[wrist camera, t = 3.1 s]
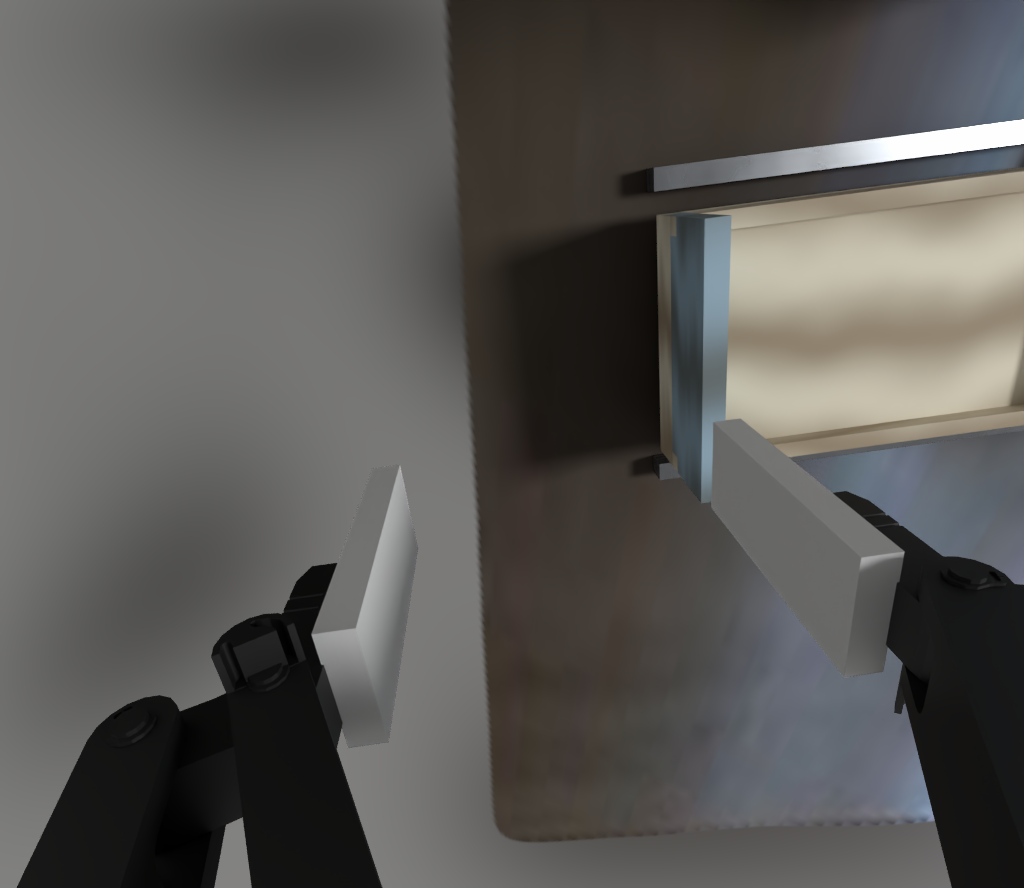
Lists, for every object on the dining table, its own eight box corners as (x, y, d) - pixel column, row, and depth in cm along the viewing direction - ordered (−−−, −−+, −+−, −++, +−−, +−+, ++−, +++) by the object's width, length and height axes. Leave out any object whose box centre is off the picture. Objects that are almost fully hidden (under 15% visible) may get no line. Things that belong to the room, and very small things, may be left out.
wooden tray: (648, 214, 28) (704, 218, 21) (1031, 164, 28) (1208, 153, 21) (653, 440, 33) (701, 503, 26) (981, 395, 33) (1114, 446, 26)
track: (646, 169, 27) (653, 167, 26) (1283, 86, 28) (1317, 82, 27) (653, 470, 34) (659, 480, 33) (1172, 400, 34) (1196, 406, 33)
